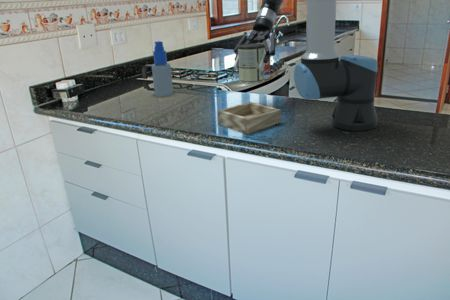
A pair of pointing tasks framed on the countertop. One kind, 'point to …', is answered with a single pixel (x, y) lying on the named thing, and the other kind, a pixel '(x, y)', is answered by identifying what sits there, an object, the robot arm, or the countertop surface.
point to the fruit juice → (267, 64)
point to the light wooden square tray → (249, 117)
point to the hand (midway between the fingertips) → (247, 68)
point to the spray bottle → (161, 72)
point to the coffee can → (250, 63)
